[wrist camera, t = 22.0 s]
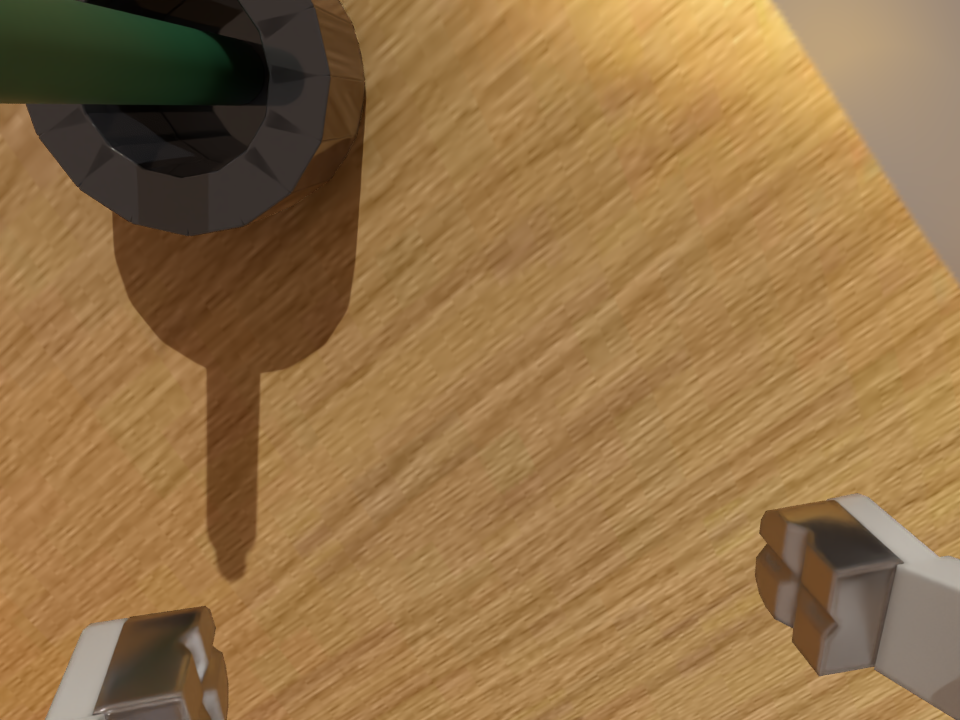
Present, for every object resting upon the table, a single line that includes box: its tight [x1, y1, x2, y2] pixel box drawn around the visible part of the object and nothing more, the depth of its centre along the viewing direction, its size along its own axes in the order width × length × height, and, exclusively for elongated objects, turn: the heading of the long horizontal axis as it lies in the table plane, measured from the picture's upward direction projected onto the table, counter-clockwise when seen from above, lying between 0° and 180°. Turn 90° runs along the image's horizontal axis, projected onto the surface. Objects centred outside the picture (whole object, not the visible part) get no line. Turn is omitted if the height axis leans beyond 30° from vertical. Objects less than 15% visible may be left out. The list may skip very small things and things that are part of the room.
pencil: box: [0, 0, 264, 106], centre depth 16 cm, size 2×2×15 cm
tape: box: [26, 0, 365, 236], centre depth 21 cm, size 8×8×4 cm
